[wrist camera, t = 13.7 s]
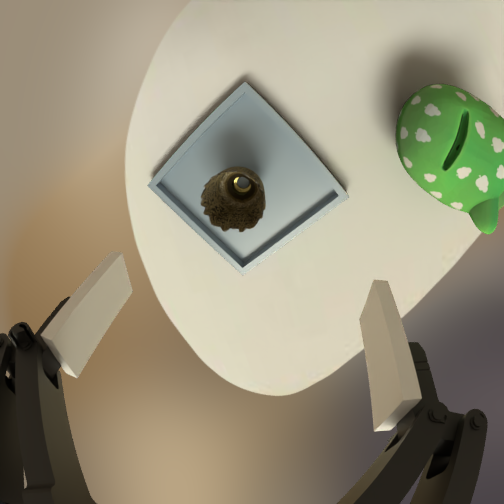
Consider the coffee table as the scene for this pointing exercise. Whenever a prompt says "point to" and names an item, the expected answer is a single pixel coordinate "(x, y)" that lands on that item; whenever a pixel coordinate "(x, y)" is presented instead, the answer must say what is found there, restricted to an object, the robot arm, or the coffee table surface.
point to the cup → (234, 199)
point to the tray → (262, 163)
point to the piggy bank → (454, 150)
